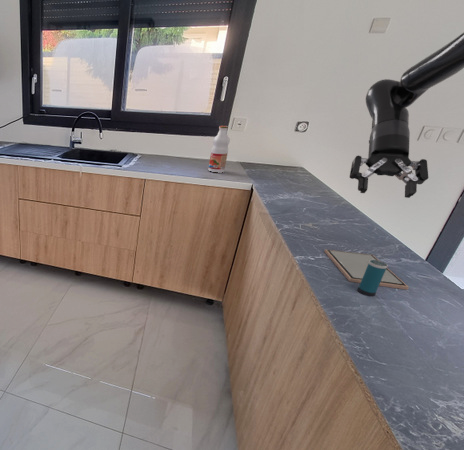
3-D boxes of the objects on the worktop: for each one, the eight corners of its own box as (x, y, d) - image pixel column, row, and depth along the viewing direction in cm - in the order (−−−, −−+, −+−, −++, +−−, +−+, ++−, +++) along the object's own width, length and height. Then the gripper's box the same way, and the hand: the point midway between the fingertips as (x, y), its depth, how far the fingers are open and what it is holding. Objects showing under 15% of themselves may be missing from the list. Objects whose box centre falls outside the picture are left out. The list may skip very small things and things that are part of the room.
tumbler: (370, 289, 79) (383, 260, 76) (377, 297, 76) (391, 267, 73) (354, 287, 80) (366, 258, 77) (361, 294, 77) (373, 265, 74)
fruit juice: (226, 173, 193) (235, 126, 182) (210, 173, 194) (218, 126, 183) (220, 169, 202) (228, 125, 191) (205, 170, 203) (212, 125, 192)
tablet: (371, 257, 94) (373, 254, 94) (407, 289, 79) (409, 286, 78) (324, 251, 98) (325, 248, 98) (349, 281, 83) (350, 278, 82)
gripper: (359, 132, 84) (355, 183, 79) (435, 133, 77) (434, 190, 73) (349, 148, 90) (344, 197, 86) (417, 152, 83) (416, 204, 79)
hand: (385, 193), depth 79 cm, fingers open, 8 cm apart
